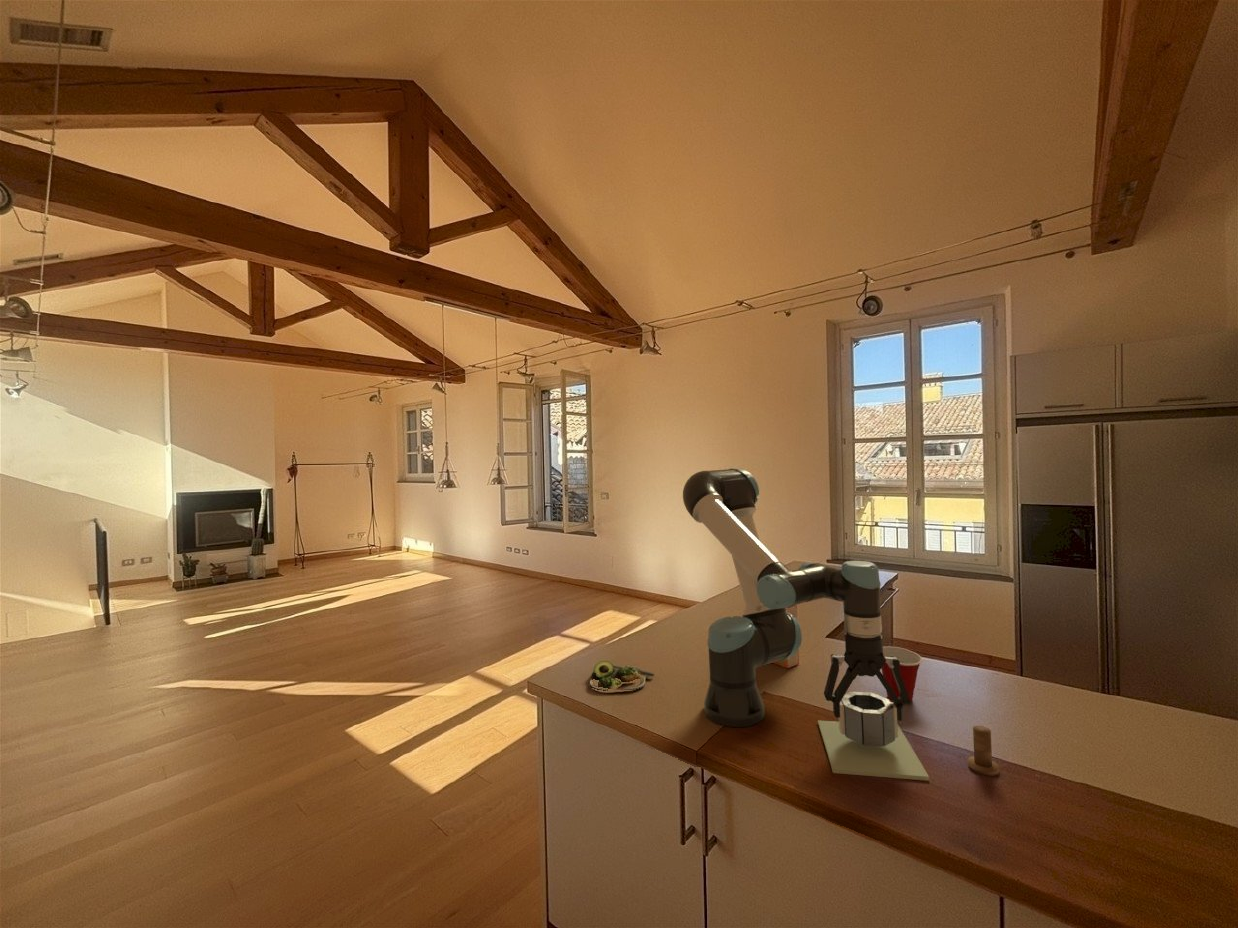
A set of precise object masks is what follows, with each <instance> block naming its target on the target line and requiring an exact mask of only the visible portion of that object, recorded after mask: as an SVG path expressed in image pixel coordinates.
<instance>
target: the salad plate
mask: <svg viewBox="0 0 1238 928" xmlns="http://www.w3.org/2000/svg"><path fill="white" fill-rule="evenodd" d="M649 677H655V673H653V672H650V671H645V670H643V668H640V667H638V666H634V665H633V666H632V665H631V666H628V665H625V666H617V665H613V664H612V662H610V661H608V660H601V661H599V662H597V663H596V664H595V665H594V667H593V672H592V673H591V675H590V680H589V683H588V686H590V687H591V688H594V689H597V690H603V691H606V690H607V691H608V689H614V688H616V687H617V686H618V685H620V684H621V682H630V681H633V680H635V679H640V684H639V685H637V686H635V685H634V686H632V687H629V688H625V689H621V690H635V689H638V690H640V689H642V688H643V687H644V686H645V685H646V679H647V678H649ZM615 678H618V679H620V680H621V682H620V681H618V680H616V679H615ZM593 679H595V680H599V682H598V687H597V686H595V685H594V684H593V682H592V680H593ZM590 687H589V688H590ZM599 687H603V688H608V689H602V688H599ZM641 687H642V688H641ZM591 688H590V689H591ZM639 688H640V689H639Z"/></svg>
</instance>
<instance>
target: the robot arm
mask: <svg viewBox="0 0 1238 928" xmlns="http://www.w3.org/2000/svg"><path fill="white" fill-rule="evenodd" d="M759 495H760V488H759V485H758V482H757V480H756V478H755V476H753V474H751V473H750V472H749V471H747V470H745V469H742V468H728V469H718V470H715V469H714V470H702V471H698V472H696V473H694V474H692V475H691V476H690V477H688V478H687V480H686V482H685V484H684V486H683V490H682V501H683V504H684V505H683V506H684V507H685V510H686V511H687V513H688V514H689V515H690V516H691V518H692V519H693V520H694V521H695V522H696V523H701V524H703V525H704V526H705V528H707V529H708V531H709V532H710V533H711V534H712V535H713V536H714V538H716V539H717V540H718V542H719V543H720V544H721V545H722V546H723V547H724V548H725V549H726V550H727V551H728V552H729V554H730V555H731V557H732V561H733V564H734V569H735V573H736V576H737V578H738V579H737V580H738V583H739V588H740V591H741V595H742V598H743V600H744V605H745V607H744V610H743V611H742V613H741V614H742V616H739V615H738V616H737V615H735V616H734V615H733V616H732V617H731V616H726V617H722V618H718V619H717V620H714V622H712V623H711V624H710V626H709V628H708V635H707V636H708V637H707V647H708V663H709V685H708V687H707V692H706V695H705V698H704V705H703V706H704V708H703V709H704V713H705V716H706V717H707V718H708V719H709V720H710V721H712V722H714V723H715V722H716V723H715V724H718V725H721V726H725V727H732V728H745V727H750V726H754V725H757V724H758V723H759V724H760V722H761V721H762V720H764V718H765V704H764V701H763V698H762V696H761V693H760V690H759V688H758V685H757V677H756V676H757V675H756V674H757V671H756V670H757V669H756V668H759V667H763V666H765V665H769V664H773V663H772V662H775V661H780V660H785V659H786V658H788V657H790V656H793V655H794V654H795V653H797V651H798V649H799V648H800V647H801V645H802V639H803V635H802V634H803V633H802V628H801V626H800V623H799V620H798V619H797V620H796V619H795V618H794V616H793V615H792V614H790V613H787V612H786V610H785V608H788V607H790V606H793V605H797V606H798V605H800V604H803V603H809V602H812V601H817V600H821V599H830V600H833V601H838V602H842V605H843V607H842V608H843V618H844V619H843V620H844V622H843V623H844V630H845V632H844V644H845V645H844V646H845V651H844V654H843V655H837V654H835V653H831V654H830V663H831V664H830V669H829V672H828V675H827V680H826V683H825V687H824V690H823V695H824V698H825V700H826V701H828V702H829V701H830V702H832V708H833V711H832V712H833V714H834V718H838V722H839V729H840V732H841V734H845V724H844V705H843V703H842V698H843V697H844V695H845V694H847V691H848V690H849V688H850V686H851V685H852V683H853V682H854V680H855V679H856V678H857V676H858V677H865V676H867V677H874V676H876V677H877V678H878V680H879V682H880V684H881V685H882V686H883V688H884V689H885V691H887V692H888V694H889V695H890V697H891V698H892V700H893V701H892V700H891V701H890V702H891V704H892V706H893V707H894V725H895V738H898V726H897V725H898V722H901V721H902V720H903V713H902V712H903V710H902V709H903V708H904V705H906V706H908V705H911V704H912V701H911V700H910V698H909V695H908V692H907V689H906V687H905V684H904V681H903V678H902V676H901V673H900V662H899V660H898V659H897V658H896V657H895V656H891V657H884V655H883V647H884V644H883V635H882V631H883V625H882V610H881V585H882V584H881V581H880V573H879V567H878V566H877V564H875V563H874V562H870V561H868V560H867V561H865V560H849V561H848V560H847V561H845V562H842V564H841V567H838V566H832V565H828V564H823V563H819V562H805V563H802V564H801V565H800V567H798V569H794V570H792V569H791V570H790V568H788V567H787V566H786V565H785V564H784V563H783V562H782V561H781V560H780V559H779V558H778V557H777V556H776V555H775V554H774V553H773V552H772V551H771V550H770V549H769V548H768V547H767V546H766V545H765V544H764V543H763V542H762V541H761V539H760V538H759V535H758V531H757V527H756V524H755V520H754V513H755V512H756V510H757V507H756V503H757V502H758V501H759ZM799 650H800V649H799ZM843 663H846V665H848V666H847V668H846V670H845V671H846V672H845V673H844V675H843V676H842V678H841V680H840V682H839V684H838V685H837V686H836V683H837V680H838V679H837V678H838V675H839V672H840V667H842V666H843ZM885 663H887V664H888V666H889V667H890V668H891V670H892V672H893V675H894V678H895V681H896V683H897V686H898V689H899V692H900V694H901V696H900V697H897V696H896V694H895V693H894V691H893V690H892V688H891V687H890V685H889V684H888V682H887V680H886V679H885V677H884V676H883V674H882V669H881V668H882V667H883V666H884V664H885ZM835 686H836V688H835ZM887 692H886V693H887Z"/></svg>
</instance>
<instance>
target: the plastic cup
mask: <svg viewBox="0 0 1238 928" xmlns="http://www.w3.org/2000/svg"><path fill="white" fill-rule="evenodd" d="M883 655H884V657H891V656H895V657H896V658H897V659H898V660H899V662H900V673H901V676H902V678H903V681H904V684H905V687H906V689H907V692H908V695H909V698H910V700H911V702H913V698H914V694H915V693H914V691H915V687H916V682H917V677H918V671H919V667H920V665H921V664H922V662H923V661H924V660H923V657H922V656H921V655H919V654H918V653H916V652H914V651H911V650H910V649H907V648H902V647H898V646H883ZM881 673H882V674H883V676H884V677H885V679H886V680H887V682H888V684H889V685H890V687H891V688H892V690H893V691H894V693H895V694H896V696H897V697H900V696H901V694H900V692H899V689H898V686H897V683H896V681H895V678H894V675H893V672H892V670H891V668H890V667H889V666H888V664H887V663H885V664H884V666H883V667H882V668H881ZM885 691H886V690H885ZM886 696H887V697H888V698H887V699H889V701H891V702H894V701H893V700H892V698H891V697H890V695H889V694H888V692H887V691H886Z"/></svg>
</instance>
